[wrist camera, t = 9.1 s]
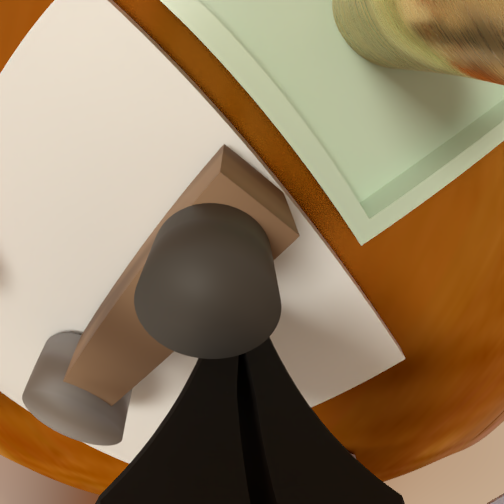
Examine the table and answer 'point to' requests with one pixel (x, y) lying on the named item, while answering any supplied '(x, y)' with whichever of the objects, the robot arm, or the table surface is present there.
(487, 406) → the table surface
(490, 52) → the pin
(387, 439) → the table surface
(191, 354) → the crank
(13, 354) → the board
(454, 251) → the table surface
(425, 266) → the table surface
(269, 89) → the tray
